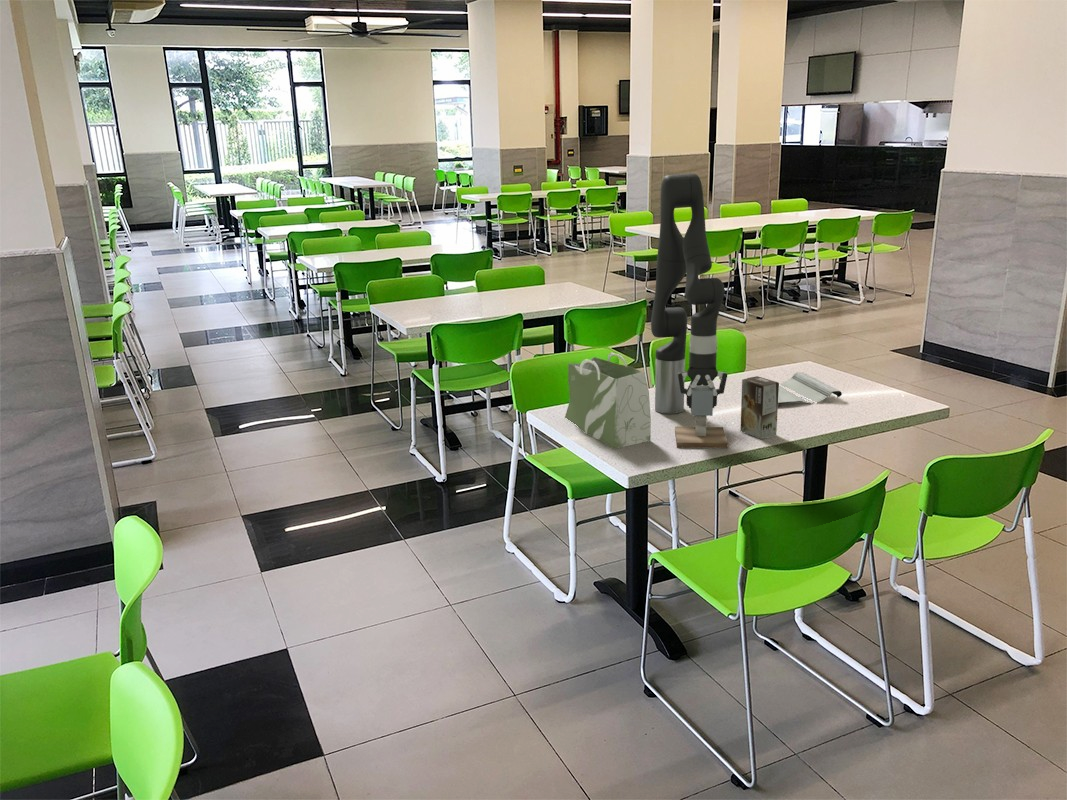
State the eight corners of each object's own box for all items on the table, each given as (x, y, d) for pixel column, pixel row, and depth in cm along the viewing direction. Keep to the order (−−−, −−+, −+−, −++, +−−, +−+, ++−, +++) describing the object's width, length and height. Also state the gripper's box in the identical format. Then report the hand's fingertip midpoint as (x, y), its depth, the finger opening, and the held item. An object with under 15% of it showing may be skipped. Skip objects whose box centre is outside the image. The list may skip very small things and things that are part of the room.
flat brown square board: (674, 431, 244) (675, 407, 242) (722, 431, 242) (723, 407, 240) (676, 447, 231) (677, 422, 229) (727, 448, 229) (728, 422, 227)
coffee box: (777, 435, 238) (780, 382, 233) (761, 439, 235) (764, 385, 230) (754, 427, 245) (757, 375, 241) (738, 431, 242) (741, 378, 238)
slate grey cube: (690, 409, 237) (691, 385, 235) (710, 409, 236) (711, 385, 234) (691, 415, 232) (692, 390, 230) (712, 415, 231) (713, 390, 229)
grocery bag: (560, 418, 259) (559, 347, 252) (599, 412, 264) (598, 342, 258) (611, 449, 231) (611, 370, 224) (653, 441, 237) (654, 363, 230)
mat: (742, 390, 284) (743, 377, 283) (804, 384, 289) (805, 371, 288) (775, 409, 263) (776, 395, 261) (841, 403, 268) (842, 389, 266)
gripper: (728, 346, 232) (725, 403, 236) (676, 346, 233) (675, 403, 238) (730, 353, 224) (728, 411, 229) (677, 353, 226) (676, 411, 231)
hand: (701, 407), depth 234 cm, fingers closed on slate grey cube, 5 cm apart
